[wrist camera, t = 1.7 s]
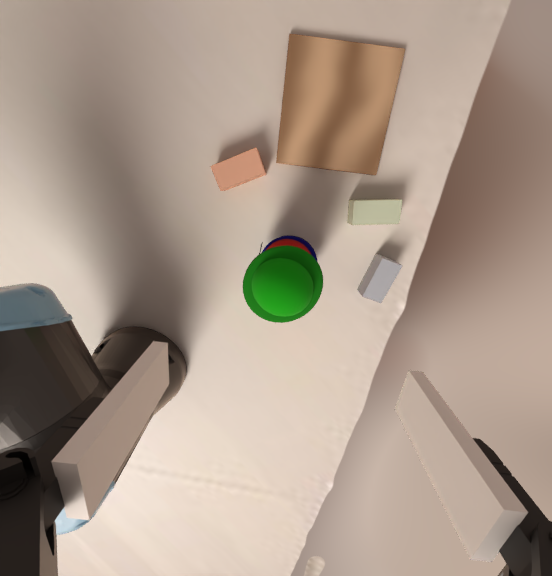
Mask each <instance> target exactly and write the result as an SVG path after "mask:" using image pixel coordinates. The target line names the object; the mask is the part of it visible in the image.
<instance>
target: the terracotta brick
mask: <svg viewBox="0 0 552 576" xmlns="http://www.w3.org/2000/svg"><path fill="white" fill-rule="evenodd" d="M211 169H212V171H213V174H214V176H215V179H216V181H217V184H218V186H219V188H220V191H226V190H228V189H231V188H233V187H236V186H238V185H241V184H243V183H246V182H248V181H251V180H253V179H256V178H258V177H261V176H263V175H266V172H265V169H264V166H263V163H262V160H261V157H260V154H259V151H258V149H257V148H253V149H251V150H249V151H246V152H244V153H241V154H239V155H236V156H234V157H232V158H229V159H227V160H224V161H222V162H219V163H217V164H215V165H212V166H211Z"/></svg>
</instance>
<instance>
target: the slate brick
mask: <svg viewBox="0 0 552 576" xmlns="http://www.w3.org/2000/svg"><path fill="white" fill-rule="evenodd" d="M401 267H402V265H401V264H399V263H397V262H396V261H394V260H392V259H389V258H387V257H384V256H381V255H379V254H375V256H374V258H373V260H372V262H371V264H370V266H369V268H368V270H367V272H366V273H365V275H364V277H363V279H362V281H361V283H360V285H359V287H358V289H357V290H358V291H359V292H360V294H361V295H362V296H363V297H365V298H368V299H371V300H374V301H376V302H379V303H382V301H383V299H384V298H385V296H386V294H387V292H388V290H389V289H390V287H391V285H392V283H393V282H394V280H395V278H396V276H397V275H398V273H399V271H400V269H401Z"/></svg>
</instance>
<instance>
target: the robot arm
mask: <svg viewBox="0 0 552 576" xmlns="http://www.w3.org/2000/svg"><path fill="white" fill-rule="evenodd" d="M185 377H186V363H185V360H184V357H183V355H182V353H181V351H180V350H179V349H178V347H177V346H176V345H175V344H174V343H173V342H172V341H171V340H170V339H168V338H167V337H165V336H164V335H162V334H160V333H158V332H156V331H154V330H151V329H147V328H142V327H127V328H123V329H120V330H117V331H115V332H113V333H112V334H110V335H109V336H108V337H107V338H106V339H104V340H103V341H102V342H101V343H100V344H99V345H98V346H97V348H96V349H95V351H94V353H93V355H92V356H91V354H90V353H89V351H88V349H87V347H86V346H85V344H84V342H83V340H82V338H81V337H80V335H79V333H78V331H77V329H76V328H75V326H74V324H73V322H72V316H71V315H70V314H67V312H66V311H65V309H64V307H63V306H62V304H61V303H60V301H59V300H58V298H57V297H56V295H55V293H54V292H53V291H52V290H51V289H49V288H48V287H46V286H43V285H40V284H34V283H28V284H19V285H12V286H6V287H0V576H58V569H57V539H56V535H60V534H65V533H69V532H71V531H74V530H77V529H78V528H80V527H82V526H83V525H85V524H86V523H88V522H89V521H90V520H91V519H92V517H94V515H95V514H96V512H97V511H98V509H99V508H100V506H101V504H102V503H103V501H104V500H105V498H106V497H107V495H108V493H109V492H111V491H112V489H113V488H114V486H115V483H116V482H117V480H118V478H119V476H120V474H121V473H122V471H123V469H124V467H125V465H126V463H127V462H128V460H129V458H130V456H131V454H132V453H133V451H134V449H135V447H136V445H137V443H138V442H139V440H140V438H141V436H142V434H143V432H144V431H145V429H146V427H147V425H148V423H149V422H150V420H151V418H152V416H153V415H154V414H156V413H157V412H158V411H159V410H160V409H161V408H162V407H163V406H164V405H166V404H167V403H168V402H169V401H170V400H171V399H173V398H174V397H175V395H176V394H177V393H178V391H179V390H180V388H181V386H182V384H183V382H184V380H185ZM395 410H396V412H397V414H398V416H399V418H400V420H401V422H402V424H403V426H404V428H405V430H406V432H407V434H408V436H409V438H410V440H411V442H412V444H413V446H414V448H415V450H416V452H417V454H418V456H419V458H420V460H421V462H422V464H423V466H424V468H425V470H426V472H427V474H428V476H429V478H430V480H431V482H432V484H433V486H434V488H435V490H436V492H437V494H438V496H439V498H440V500H441V502H442V504H443V506H444V508H445V510H446V512H447V514H448V516H449V518H450V520H451V522H452V524H453V526H454V528H455V530H456V532H457V534H458V536H459V538H460V540H461V542H462V544H463V546H464V548H465V550H466V552H467V554H468V556H469V558H470V560H477V561H487V562H492V561H493V560H494V558H495V557H496V556H497V554H498V553H499V552H500V553H501V555H502V556H503V558H504V560H505V561H506V563H507V564H506V566H505V567H504V568H503V569H502V571H501V572H500V573H499V575H498V576H552V522H551V521H549V520H548V519H547V518H546V517H545V515H544V514H543V513H542V511H541V510H540V509H539V508H538V506H537V505H536V504H535V503H534V501H533V500H532V499H531V498H530V496H529V495H528V494H527V493H526V492H525V490H524V489H523V488H522V486H521V485H520V484H519V483H518V481H517V480H516V479H515V478H514V477H512V475H511V473H510V471H509V470H508V469H507V468H506V466H504V465H503V462H502V461H501V460H500V459H499V457H498V456H497V455H496V454H495V452H494V451H493V450H492V449H491V448H489V447H488V446H487V445H486V444H485V443H484V442H483V441H481V440H480V439H476V438H472V437H471V436H470V434H469V433H468V432H467V430H466V429H465V428H464V426H463V425H462V424H461V422H460V421H459V420H458V418H457V417H456V416H455V414H454V413H453V412H452V410H451V409H450V408H449V406H448V405H447V404H446V402H445V401H444V400H443V398H442V397H441V396H440V395H439V393H438V392H437V390H436V389H435V388H434V386H433V385H432V384H431V383H430V381H429V380H428V378H427V377H426V376H425V374H424V373H423V372H419V371H408V374H407V377H406V380H405V382H404V385H403V388H402V391H401V393H400V396H399V399H398V402H397V404H396V407H395Z"/></svg>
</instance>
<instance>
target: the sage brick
mask: <svg viewBox="0 0 552 576" xmlns="http://www.w3.org/2000/svg"><path fill="white" fill-rule="evenodd" d="M401 207H402V200H401V199H367V200H349V206H348V221H347V223H349V224H351V225H380V224H399V222H400V214H401Z"/></svg>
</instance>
